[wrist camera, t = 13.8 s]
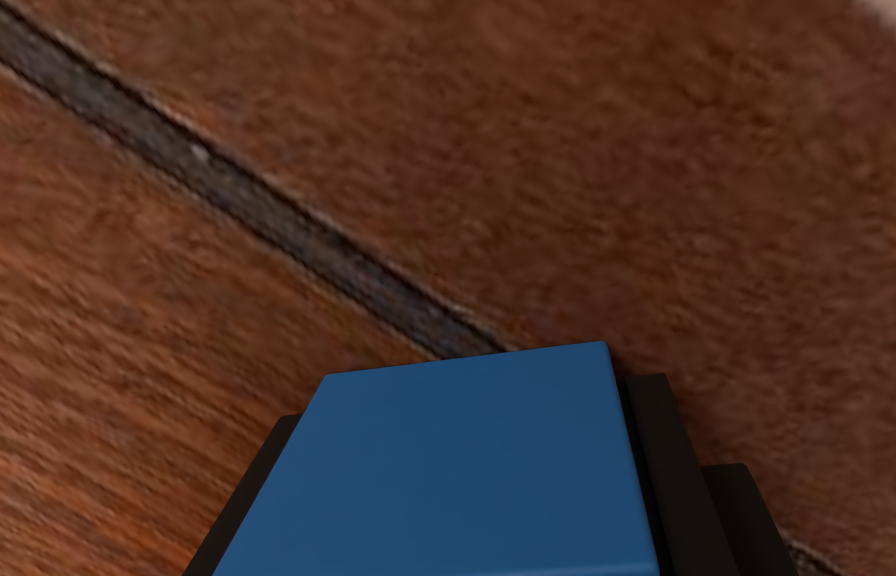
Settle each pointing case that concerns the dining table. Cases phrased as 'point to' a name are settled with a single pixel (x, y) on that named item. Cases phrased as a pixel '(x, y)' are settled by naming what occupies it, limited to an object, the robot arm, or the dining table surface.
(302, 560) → the blue toy cube
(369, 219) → the dining table surface
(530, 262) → the dining table surface
